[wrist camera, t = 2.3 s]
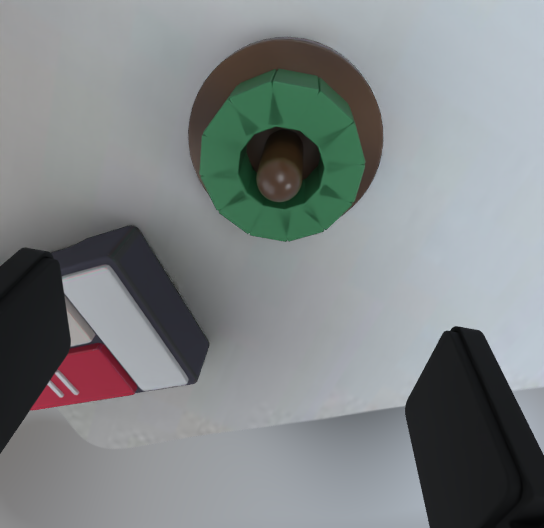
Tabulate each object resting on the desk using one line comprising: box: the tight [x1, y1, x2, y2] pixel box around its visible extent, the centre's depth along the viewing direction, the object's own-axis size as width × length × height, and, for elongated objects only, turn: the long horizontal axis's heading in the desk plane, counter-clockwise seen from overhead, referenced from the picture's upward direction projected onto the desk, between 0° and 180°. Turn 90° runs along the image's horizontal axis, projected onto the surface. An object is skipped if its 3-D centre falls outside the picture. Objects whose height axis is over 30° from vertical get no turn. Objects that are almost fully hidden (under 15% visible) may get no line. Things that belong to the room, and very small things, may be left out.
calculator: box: [30, 226, 209, 410], centre depth 29 cm, size 11×4×15 cm
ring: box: [199, 69, 365, 242], centre depth 20 cm, size 7×7×3 cm
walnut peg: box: [188, 37, 383, 216], centre depth 20 cm, size 10×10×6 cm
